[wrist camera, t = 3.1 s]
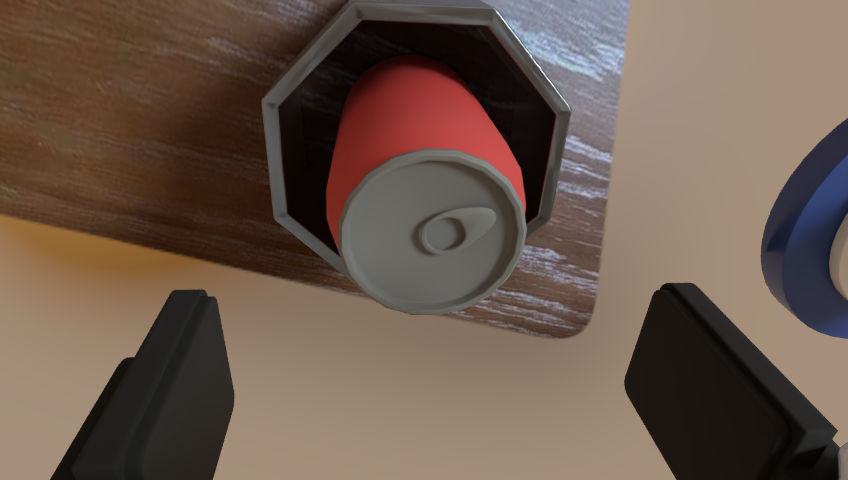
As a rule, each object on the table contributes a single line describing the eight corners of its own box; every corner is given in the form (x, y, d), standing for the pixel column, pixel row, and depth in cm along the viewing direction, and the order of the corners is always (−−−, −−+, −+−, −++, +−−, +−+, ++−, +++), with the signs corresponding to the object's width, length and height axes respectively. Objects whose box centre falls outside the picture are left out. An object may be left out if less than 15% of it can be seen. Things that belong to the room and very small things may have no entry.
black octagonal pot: (542, -2, 23) (591, 12, 18) (508, 225, 29) (537, 286, 23) (279, -16, 22) (249, -5, 17) (298, 224, 27) (280, 288, 22)
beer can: (492, 153, 26) (568, 285, 16) (376, 201, 27) (378, 356, 17) (447, 27, 23) (506, 91, 13) (317, 86, 24) (273, 190, 14)
